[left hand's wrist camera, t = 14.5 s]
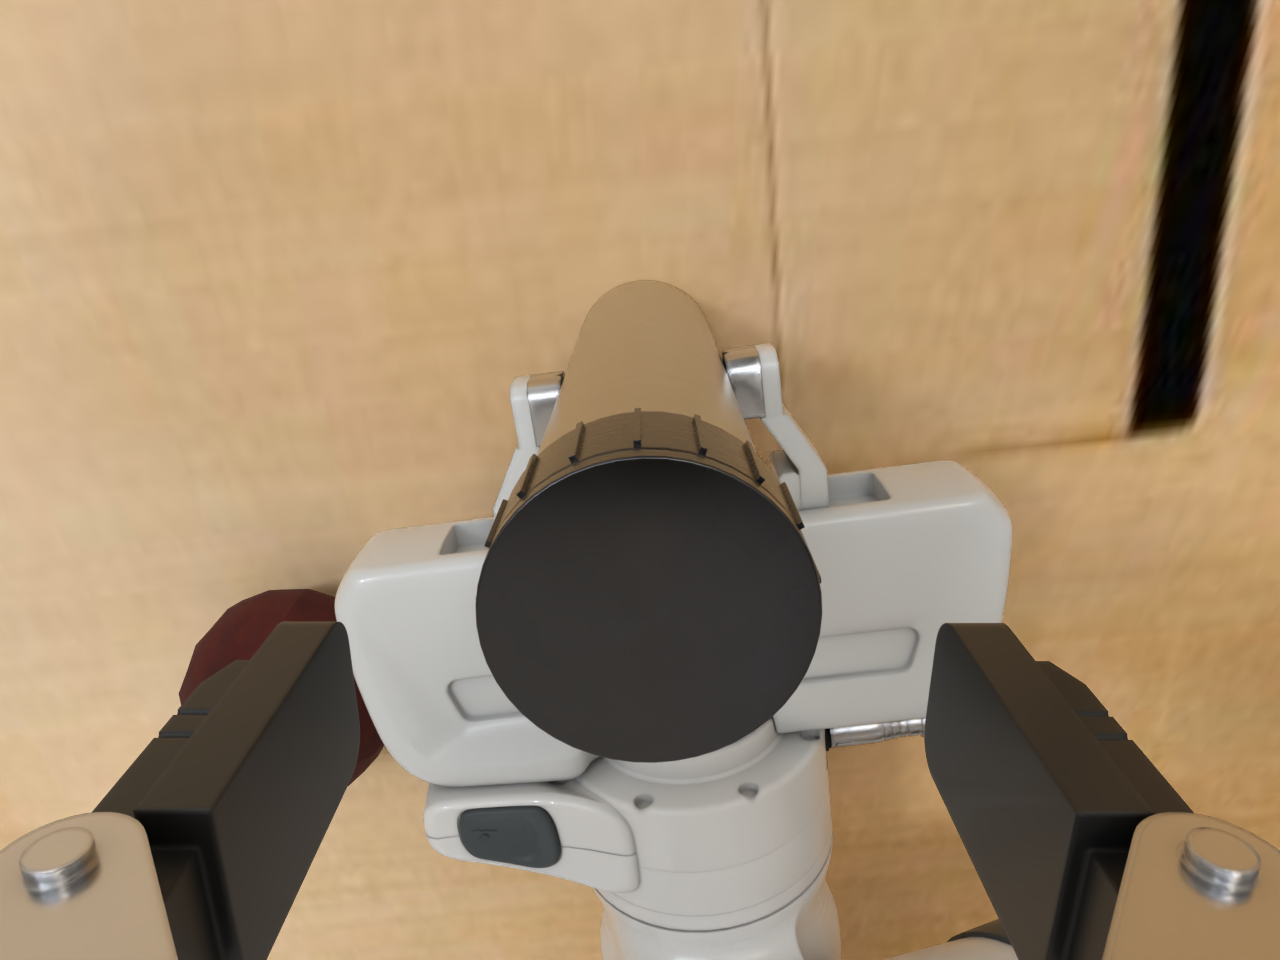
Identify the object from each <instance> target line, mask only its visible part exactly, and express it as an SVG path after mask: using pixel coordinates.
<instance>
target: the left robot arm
mask: <svg viewBox="0 0 1280 960" xmlns="http://www.w3.org/2000/svg"><path fill="white" fill-rule="evenodd" d="M924 738H925V751H926V757H927V762H928V766H929V770H930V773H931V775H932V778H933V780H934V782H935V784H936V786H937V788H938V790H939V793H940V795H941V797H942V799H943V801H944V803H945V805H946V807H947V809H948V812H949V814H950V816H951V818H952V820H953V822H954V824H955V826H956V829H957V831H958V833H959V835H960V837H961V839H962V841H963V843H964V845H965V848H966V850H967V852H968V854H969V856H970V858H971V860H972V862H973V865H974V867H975V869H976V871H977V873H978V875H979V877H980V879H981V881H982V884H983V886H984V888H985V890H986V892H987V894H988V896H989V898H990V901H991V903H992V905H993V907H994V909H995V911H996V913H997V915H998V917H999V920H1000V922H1001V924H1002V926H1003V928H1004V930H1005V932H1006V934H1007V937H1008V939H1009V941H1010V943H1011V945H1012V947H1013V949H1014V951H1015V953H1016V956H1017V958H1018V960H1280V851H1279V850H1278V849H1276V848H1275V847H1274V846H1272V845H1271V844H1269V843H1268V842H1266V841H1265V840H1263V839H1261V838H1260V837H1258V836H1256V835H1255V834H1253V833H1251V832H1249V831H1247V830H1245V829H1243V828H1240V827H1238V826H1236V825H1233V824H1231V823H1228V822H1226V821H1223V820H1219V819H1216V818H1213V817H1210V816H1205V815H1200V814H1195V813H1194V812H1193V811H1192V810H1191V809H1190V808H1189V807H1188V805H1187V804H1186V803H1185V802H1184V801H1183V799H1182V798H1181V797H1180V796H1179V795H1178V794H1177V792H1176V791H1175V790H1174V789H1173V788H1172V786H1171V785H1170V784H1169V783H1168V782H1167V781H1166V779H1165V778H1164V777H1163V776H1162V775H1161V773H1160V772H1159V771H1158V770H1157V769H1156V768H1155V766H1154V765H1153V764H1152V763H1151V762H1150V760H1149V759H1148V758H1147V757H1146V756H1145V755H1144V753H1143V752H1142V751H1141V750H1140V749H1139V747H1138V746H1137V745H1136V744H1135V743H1134V742H1133V740H1128V738H1127V733H1126V732H1125V731H1124V730H1123V729H1122V727H1121V726H1120V725H1119V724H1118V723H1117V721H1116V720H1115V719H1114V718H1113V717H1109V716H1108V711H1107V710H1106V708H1105V707H1104V706H1103V705H1102V704H1101V703H1100V701H1099V700H1098V699H1097V698H1096V697H1095V695H1094V694H1093V693H1092V692H1091V691H1090V690H1089V688H1088V687H1087V686H1086V685H1085V684H1084V683H1082V682H1081V681H1079V680H1077V679H1076V678H1074V677H1073V676H1071V675H1070V674H1068V673H1067V672H1065V671H1063V670H1062V669H1060V668H1059V667H1057V666H1056V665H1054V664H1052V663H1051V662H1049V661H1035V660H1034V659H1033V657H1032V656H1031V655H1030V654H1029V652H1028V651H1027V650H1026V649H1025V647H1024V646H1023V645H1022V643H1021V642H1020V641H1019V640H1018V638H1017V637H1016V636H1015V635H1014V633H1013V632H1012V631H1011V629H1010V628H1009V627H1008V626H1007V625H1005V624H1004V623H944V624H943V625H941V627H940V628H939V631H938V634H937V638H936V643H935V651H934V659H933V666H932V674H931V681H930V689H929V697H928V704H927V712H926V719H925V731H924ZM359 744H360V722H359V714H358V706H357V699H356V691H355V683H354V676H353V668H352V660H351V652H350V645H349V638H348V634H347V630H346V628H345V626H344V624H343V623H342V622H281V623H279V624H278V625H277V626H276V627H275V628H274V630H273V631H272V632H271V633H270V635H269V636H268V637H267V639H266V640H265V641H264V642H263V644H262V645H261V646H260V648H259V649H258V650H257V651H256V653H255V654H254V655H253V657H252V658H251V659H250V660H235V661H234V662H232V663H230V664H229V665H227V666H226V667H224V668H223V669H221V670H220V671H218V672H216V673H215V674H213V675H212V676H210V677H209V678H207V679H206V680H204V681H202V682H201V683H200V684H199V685H198V686H197V687H196V689H195V690H194V691H193V692H192V693H191V695H190V696H189V697H188V698H187V699H186V701H185V702H184V703H183V704H182V705H181V707H180V708H179V709H178V714H177V715H173V716H172V717H171V719H170V720H169V721H168V722H167V723H166V724H165V726H164V727H163V728H162V729H161V730H160V732H159V737H158V738H154V739H153V740H152V741H151V742H150V744H149V745H148V746H147V747H146V748H145V750H144V751H143V752H142V753H141V754H140V755H139V757H138V758H137V759H136V760H135V761H134V763H133V764H132V765H131V766H130V767H129V769H128V770H127V771H126V772H125V773H124V775H123V776H122V777H121V778H120V779H119V781H118V782H117V783H116V784H115V785H114V787H113V788H112V789H111V790H110V791H109V792H108V794H107V795H106V796H105V797H104V798H103V800H102V801H101V802H100V803H99V804H98V806H97V807H96V808H95V809H94V810H93V812H92V813H85V814H80V815H75V816H70V817H67V818H64V819H61V820H57V821H54V822H52V823H49V824H47V825H44V826H42V827H40V828H37V829H35V830H33V831H31V832H29V833H27V834H25V835H24V836H22V837H20V838H19V839H17V840H15V841H14V842H12V843H11V844H9V845H8V846H6V847H5V848H4V849H2V850H1V851H0V960H267V957H268V955H269V953H270V951H271V949H272V947H273V945H274V942H275V940H276V938H277V936H278V934H279V932H280V930H281V927H282V925H283V923H284V921H285V919H286V917H287V915H288V912H289V910H290V908H291V906H292V904H293V902H294V900H295V897H296V895H297V893H298V891H299V889H300V887H301V885H302V882H303V880H304V878H305V876H306V874H307V872H308V870H309V867H310V865H311V863H312V861H313V859H314V857H315V854H316V852H317V850H318V848H319V846H320V844H321V842H322V839H323V837H324V835H325V833H326V831H327V829H328V827H329V824H330V822H331V820H332V818H333V816H334V814H335V812H336V809H337V807H338V805H339V803H340V801H341V799H342V797H343V794H344V792H345V790H346V788H347V786H348V784H349V782H350V779H351V777H352V775H353V773H354V770H355V767H356V763H357V758H358V753H359Z"/></svg>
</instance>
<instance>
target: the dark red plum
mask: <svg viewBox="0 0 1280 960" xmlns="http://www.w3.org/2000/svg"><path fill="white" fill-rule="evenodd" d="M334 606H335V597H333V596H329V595H326V594H323V593H320V592H316V591H313V590H310V589H291V590H269V591H266V592H264V593H261V594H258V595H256V596H253V597H250V598H248V599H245V600H243V601H241V602H239V603H237V604H236V605H234V606H232V607H230V608H229V609H227V611H226V612H225V613H224V614H223V615H222V616H221V618H220V619H219V620H218V621H217V622H216V623H215V624H214V626H213V627H212V628H211V629H210V630H209V631H208V632H207V634H206V635H205V636H204V637H203V638H202V639H201V640H200V641H199V642H198V643H197V645H196V646H195V649H194V652H193V655H192V658H191V661H190V664H189V667H188V670H187V673H186V676H185V678H184V681H183V684H182V687H181V689H180V692H179V697H180V701H181V705H182V704H183V703H184V702H185V701H186V699H187V698H188V697H189V696H190V695H191V693H192V692H193V691H194V690H195V689H196V687H197V686H198V685H199V684H200V683H201V682H202V681H204V680H206V679H207V678H209V677H210V676H212V675H213V674H215V673H216V672H218V671H220V670H221V669H223V668H224V667H226V666H227V665H229V664H230V663H232V662H234V661H235V660H250V659H251V658H252V657H253V655H254V654H255V653H256V651H257V650H258V649H259V648H260V646H261V645H262V644H263V642H264V641H265V640H266V639H267V637H268V636H269V635H270V633H271V632H272V631H273V630H274V628H275V627H276V626H277V625H278V624H279V623H281V622H337V620H336V615H335V607H334ZM353 676H354V675H353ZM354 683H355V691H356V699H357V706H358V714H359V722H360V744H359V753H358V758H357V763H356V767H355V770H354V773H353V775H352V777H351V779H350V782H349V784H348V786H349V785H350V784H351V783H352V782H353V781H354V780H355V779H356V778H358V777H359V776H360V775H361V774H362V773H363V772H364V771H365V770H366V769H367V768H368V767H369V765H370V764H371V763H372V762H373V761H374V760H375V759H376V758H377V756H378V755H379V753H380V752H381V750H382V748H383V746H384V743H383V742H382V740H381V738H380V736H379V734H378V732H377V730H376V728H375V726H374V723H373V721H372V719H371V717H370V714H369V712H368V710H367V708H366V705H365V703H364V700H363V698H362V695H361V693H360V690H359V688H358V686H357V683H356V680H355V678H354Z"/></svg>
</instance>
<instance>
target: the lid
mask: <svg viewBox="0 0 1280 960" xmlns="http://www.w3.org/2000/svg"><path fill="white" fill-rule="evenodd" d="M803 528H805V526H804V523H803V521H802V519H801V516H800V514H799V512H798V510H797V507H796V505H795V503H794V500H793V498H792V496H791V493H790V491H789V489H788V486H787V485H786V483H785V482H783V483H782V484H780V482H779V480H778V479H777V477H776V476H775V475H774V473H773V472H772V470H771V469H770V468H769V466H768V465H767V464H766V463H765V462H764V461H763V460H762V459H761V458H760V457H759V455H758V454H757V453H756V452H755V451H754V448H753V445H752V443H750V442H749V441H748V440H747V441H746V442H745V443H744V442H742V441H741V440H740V439H738V438H737V437H735V436H733V435H732V434H730V433H728V432H727V431H725V430H723V429H722V428H719V427H717V426H715V425H712V424H710V423H708V422H705V421H703V420H701V416H699V415H696V414H694V417H689V416H686V415H681V414H675V413H668V412H655V411H641V408H634V412H629V413H620V414H616V415H612V416H608V417H603V418H600V419H597V420H594V421H592V422H589V423H586V424H584V423H583V422H582V421H581V422H579V423H577V424H576V428H575V429H574V430H572V431H570V432H568V433H566V434H564V435H563V436H561V437H560V438H559V439H557V440H556V441H554V442H553V443H552V444H550V445H549V446H548V447H547V448H545V449H544V450H543V451H542V452H541V453H540V454H539V455H538V456H537V455H535V454H533V455H532V456H531V457H530V459H529V462H528V464H527V467H526V470H525V471H524V472H523V473H522V475H521V476H520V478H519V480H518V482H517V483H516V485H515V487H514V488H513V490H512V492H511V494H510V497H509V499H508V501H507V500H505V499H503V500H502V503H501V505H500V508H499V510H498V513H497V515H496V518H495V520H494V523H493V525H492V527H491V530H490V532H489V535H488V537H487V540H486V542H485V545H484V546H485V547H487V548H489V550H488V552H487V555H486V557H485V560H484V563H483V565H482V569H481V573H480V577H479V581H478V585H477V594H476V604H475V609H476V627H477V632H478V637H479V642H480V646H481V649H482V652H483V655H484V657H485V660H486V663H487V665H488V667H489V669H490V671H491V673H492V675H493V677H494V679H495V681H496V683H497V684H498V685H499V687H500V688H501V690H502V691H503V693H504V694H505V695H506V697H507V698H508V699H509V701H510V702H511V703H512V704H513V705H514V706H515V707H516V708H517V709H518V710H519V711H520V713H521V714H523V715H524V716H525V717H526V718H527V719H528V720H530V721H531V722H532V723H533V724H534V725H536V726H537V727H538V728H540V729H541V730H543V731H544V732H546V733H547V734H549V735H550V736H552V737H553V738H555V739H557V740H559V741H561V742H563V743H565V744H567V745H569V746H571V747H573V748H576V749H579V750H581V751H584V752H587V753H589V754H592V755H596V756H600V757H604V758H608V759H613V760H620V761H628V762H642V763H658V762H670V761H678V760H683V759H689V758H694V757H698V756H701V755H704V754H707V753H711V752H714V751H717V750H719V749H721V748H724V747H726V746H728V745H730V744H733V743H735V742H737V741H739V740H740V739H742V738H744V737H745V736H747V735H749V734H750V733H752V732H754V731H755V730H756V729H758V728H759V727H760V726H762V725H763V724H764V723H766V722H767V721H768V720H769V719H771V718H772V717H773V716H774V715H775V714H776V713H777V712H778V711H779V710H780V709H781V708H782V707H783V706H784V705H785V704H786V702H787V701H788V700H789V698H790V697H791V696H792V695H793V693H794V692H795V691H796V690H797V688H798V686H799V685H800V683H801V681H802V680H803V678H804V676H805V675H806V673H807V671H808V669H809V666H810V664H811V661H812V659H813V657H814V654H815V652H816V648H817V644H818V640H819V636H820V631H821V622H822V592H821V587H820V583H822V582H821V576H820V574H819V571H818V569H817V567H816V564H815V562H814V559H813V557H812V555H811V552H810V550H809V547H808V545H807V543H806V540H805V538H804V536H803V533H802V531H801V529H803Z"/></svg>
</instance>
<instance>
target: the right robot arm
mask: <svg viewBox="0 0 1280 960" xmlns="http://www.w3.org/2000/svg"><path fill="white" fill-rule="evenodd" d="M721 354H722V362H723V365H724V368H725V370H726V373H727V376H728V378H729V381H730V383H731V386H732V389H733V391H734V394H735V397H736V399H737V402H738V405H739V407H740V410H741V413H742V415H743V418H744V419H751V418H760V419H761V420H762V422H763V423H764V424H765V426H766V427H767V428H768V430H769V431H770V432H771V434H772V435H773V436H774V438H775V439H776V440H777V442H778V443H779V445H780V446H781V447H782V449H783V450H779V451H773V452H772V453H771V454H770V468H771V470H772V472H773V473H774V475H775V476H776V477H777V479H778V480H779V482H780V484H782V483H783V482H785V483H786V485H787V486H788V489H789V491H790V493H791V496H792V498H793V500H794V503H795V505H796V507H797V510H798V512H799V514H800V516H801V519H802V521H803V523H804V526H805V528H803V529H801V531H802V533H803V536H804V538H805V540H806V543H807V545H808V547H809V550H810V552H811V555H812V557H813V559H814V562H815V564H816V567H817V569H818V571H819V574H820V576H821V582H822V583H820V587H821V592H822V622H821V631H820V636H819V640H818V644H817V648H816V652H815V654H814V657H813V659H812V661H811V664H810V666H809V669H808V671H807V673H806V675H805V676H804V678H803V680H802V681H801V683H800V685H799V686H798V688H797V690H796V691H795V692H794V693H793V695H792V696H791V697H790V698H789V700H788V701H787V702H786V704H785V705H784V706H783V707H782V708H781V709H780V710H779V711H778V712H777V713H776V714H775V715H774V716H773V717H772V718H771V719H769V720H768V721H767V722H766V723H764V724H763V725H762V726H760V727H759V728H758V729H756V730H755V731H754V732H752V733H750V734H749V735H747V736H745V737H744V738H742V739H740V740H739V741H737V742H735V743H733V744H730V745H728V746H726V747H724V748H721V749H719V750H717V751H714V752H711V753H707V754H704V755H701V756H698V757H694V758H689V759H683V760H678V761H670V762H658V763H642V762H628V761H620V760H613V759H608V758H604V757H600V756H596V755H592V754H589V753H587V752H584V751H581V750H579V749H576V748H573V747H571V746H569V745H567V744H565V743H563V742H561V741H559V740H557V739H555V738H553V737H552V736H550V735H549V734H547V733H546V732H544V731H543V730H541V729H540V728H538V727H537V726H536V725H534V724H533V723H532V722H531V721H530V720H528V719H527V718H526V717H525V716H524V715H523V714H521V713H520V711H519V710H518V709H517V708H516V707H515V706H514V705H513V704H512V703H511V702H510V701H509V699H508V698H507V697H506V695H505V694H504V693H503V691H502V690H501V688H500V687H499V685H498V684H497V683H496V681H495V679H494V677H493V675H492V673H491V671H490V669H489V667H488V665H487V663H486V660H485V657H484V655H483V652H482V649H481V646H480V642H479V637H478V632H477V627H476V609H475V604H476V594H477V585H478V581H479V577H480V573H481V569H482V565H483V563H484V560H485V557H486V555H487V552H488V550H489V548H487V547H485V546H484V545H485V542H486V540H487V537H488V535H489V532H490V530H491V527H492V525H493V523H494V520H495V518H496V515H497V513H498V510H499V508H500V505H501V503H502V500H503V499H505V500H507V501H508V499H509V497H510V494H511V492H512V490H513V488H514V487H515V485H516V483H517V482H518V480H519V478H520V476H521V475H522V473H523V472H524V471H525V470H526V467H527V464H528V462H529V459H530V457H531V456H532V455H533V454H535V455H537V454H538V451H539V448H540V446H541V443H542V440H543V437H544V434H545V431H546V429H547V426H548V423H549V420H550V417H551V414H552V412H553V409H554V406H555V403H556V400H557V397H558V394H559V392H560V389H561V386H562V383H563V380H564V377H565V373H564V371H559V372H551V373H542V374H534V375H531V374H530V375H524V376H519V377H515V378H514V380H513V382H512V383H511V385H510V398H511V406H512V411H513V417H514V422H515V427H516V432H517V437H518V445H517V447H516V450H515V452H514V455H513V458H512V460H511V463H510V466H509V468H508V471H507V474H506V476H505V479H504V482H503V484H502V487H501V490H500V492H499V495H498V498H497V500H496V503H495V506H494V508H493V512H494V517H486V518H478V519H470V520H462V521H454V522H446V523H438V524H430V525H422V526H414V527H406V528H397V529H389V530H384V531H381V532H378V533H377V534H375V535H374V536H373V537H372V538H371V539H370V540H369V541H368V542H367V544H366V545H365V546H364V548H363V549H362V550H361V551H360V553H359V554H358V555H357V556H356V558H355V559H354V560H353V562H352V563H351V565H350V567H349V568H348V570H347V571H346V573H345V575H344V577H343V579H342V581H341V583H340V585H339V587H338V590H337V593H336V597H335V606H334V607H335V615H336V620H337V622H342V623H343V624H344V626H345V628H346V630H347V634H348V638H349V645H350V652H351V660H352V668H353V675H354V678H355V680H356V683H357V686H358V688H359V690H360V693H361V695H362V698H363V700H364V703H365V705H366V708H367V710H368V712H369V714H370V717H371V719H372V721H373V723H374V726H375V728H376V730H377V732H378V734H379V736H380V738H381V740H382V742H383V743H384V745H385V747H386V748H387V750H388V751H389V753H390V754H391V756H392V757H393V758H394V759H395V760H396V762H397V763H398V764H399V765H400V766H401V767H403V768H404V769H405V770H406V771H407V772H409V773H410V774H412V775H413V776H415V777H417V778H419V779H421V780H423V781H426V782H428V783H429V785H428V790H427V796H426V802H425V809H424V819H423V820H424V828H425V832H426V836H427V839H428V841H429V843H430V845H431V846H432V848H433V849H434V850H435V851H437V852H438V853H439V854H441V855H443V856H446V857H449V858H453V859H457V860H463V861H469V862H476V863H483V864H490V865H497V866H503V867H509V868H515V869H521V870H526V871H531V872H536V873H541V874H545V875H550V876H554V877H558V878H562V879H566V880H570V881H573V882H576V883H579V884H583V885H586V886H589V887H592V888H593V890H594V891H595V893H596V895H597V896H598V898H599V900H600V901H601V903H602V905H603V912H602V918H601V926H600V945H601V953H602V959H603V960H842V958H841V938H840V926H839V919H838V914H837V908H836V905H835V901H834V898H833V896H832V893H831V891H830V888H829V886H828V884H827V882H826V880H825V878H826V875H827V871H828V868H829V864H830V860H831V854H832V844H833V835H832V817H831V804H830V791H829V777H828V765H827V756H826V751H829V748H835V747H846V746H854V745H863V744H872V743H878V742H883V740H884V741H887V740H891V738H892V739H895V738H899V737H907V736H918V735H920V736H921V737H924V731H925V719H926V712H927V704H928V697H929V689H930V681H931V674H932V666H933V659H934V651H935V643H936V638H937V634H938V631H939V628H940V627H941V625H943V624H944V623H1002V619H1003V614H1004V608H1005V602H1006V595H1007V589H1008V581H1009V572H1010V561H1011V549H1012V523H1011V519H1010V516H1009V513H1008V512H1007V510H1006V508H1005V506H1004V505H1003V504H1002V502H1001V501H1000V500H999V498H998V497H997V496H996V495H995V494H994V493H993V492H992V491H991V489H990V488H989V487H988V486H987V485H986V484H984V483H983V482H982V481H981V480H980V479H979V478H977V477H976V476H975V475H973V474H972V473H971V472H970V471H968V470H967V469H966V468H964V467H963V466H962V465H961V464H959V463H957V462H955V461H951V460H940V461H932V462H924V463H916V464H908V465H900V466H892V467H884V468H876V469H868V470H860V471H852V472H844V473H836V474H829V475H827V468H826V466H825V465H824V463H823V461H822V459H821V458H820V456H819V454H818V452H817V451H816V449H815V447H814V445H813V444H812V443H811V441H810V440H809V439H808V437H807V436H806V435H805V433H804V432H803V430H802V429H801V428H800V426H799V425H798V424H797V422H796V421H795V420H794V418H793V417H792V416H791V414H790V413H789V412H788V410H787V409H786V407H785V406H784V405H783V403H782V395H781V383H780V371H779V362H778V358H777V353H776V350H775V348H774V347H773V345H772V344H771V343H765V344H758V345H750V346H743V347H736V348H729V349H723V350H722V352H721ZM883 960H1018V958H1017V956H1016V953H1015V951H1014V949H1013V947H1012V945H1011V943H1010V941H1009V939H1008V937H1007V934H1006V932H1005V930H1004V928H1003V926H1002V924H1001V922H1000V920H999V919H997V920H995V921H992V922H990V923H987V924H984V925H982V926H979V927H976V928H974V929H971V930H969V931H966V932H963V933H961V934H959V935H956V936H954V937H952V938H951V939H950V940H948V941H947V942H946V943H943V944H939V945H935V946H932V947H928V948H924V949H920V950H917V951H913V952H909V953H905V954H902V955H898V956H894V957H891V958H887V959H883Z"/></svg>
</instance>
